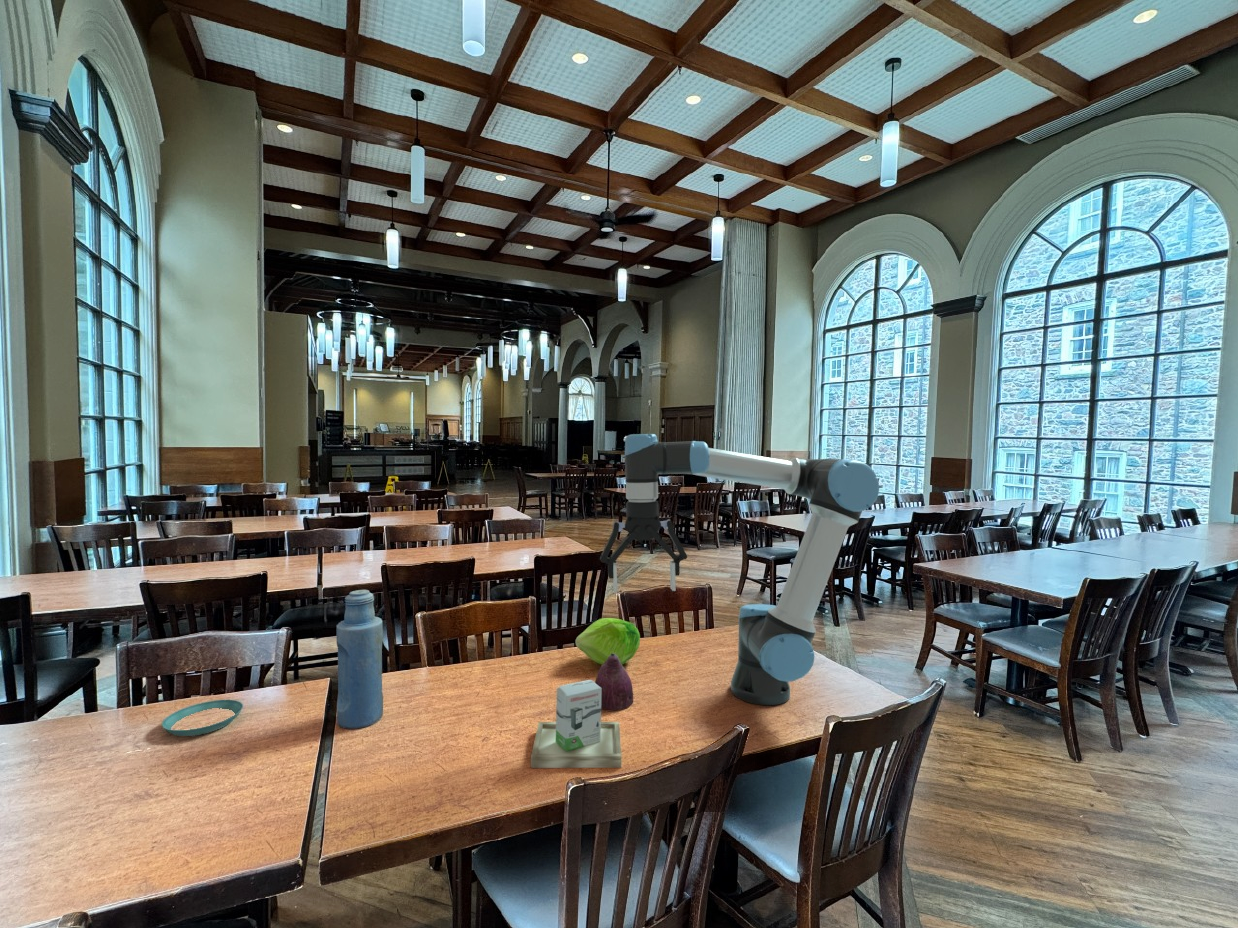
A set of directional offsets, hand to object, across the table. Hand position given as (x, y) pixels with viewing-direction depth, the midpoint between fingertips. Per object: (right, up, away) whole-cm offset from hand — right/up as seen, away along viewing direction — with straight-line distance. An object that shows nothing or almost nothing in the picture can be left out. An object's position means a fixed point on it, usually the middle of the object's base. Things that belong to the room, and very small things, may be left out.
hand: (644, 590), depth 129 cm
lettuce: (-9, -30, +35) cm, 47 cm away
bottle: (-66, -30, -1) cm, 73 cm away
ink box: (-15, -29, -12) cm, 35 cm away
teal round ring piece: (-100, -30, -4) cm, 104 cm away
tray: (-15, -31, -12) cm, 36 cm away
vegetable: (-7, -31, +10) cm, 33 cm away
